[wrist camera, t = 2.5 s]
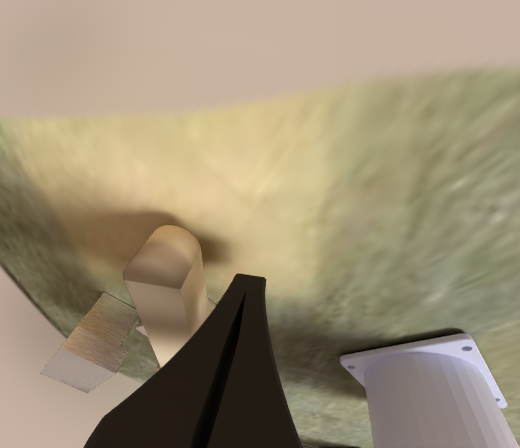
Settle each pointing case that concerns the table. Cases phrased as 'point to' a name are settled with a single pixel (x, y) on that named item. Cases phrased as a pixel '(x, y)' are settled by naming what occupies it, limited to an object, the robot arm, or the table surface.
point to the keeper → (94, 346)
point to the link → (168, 289)
